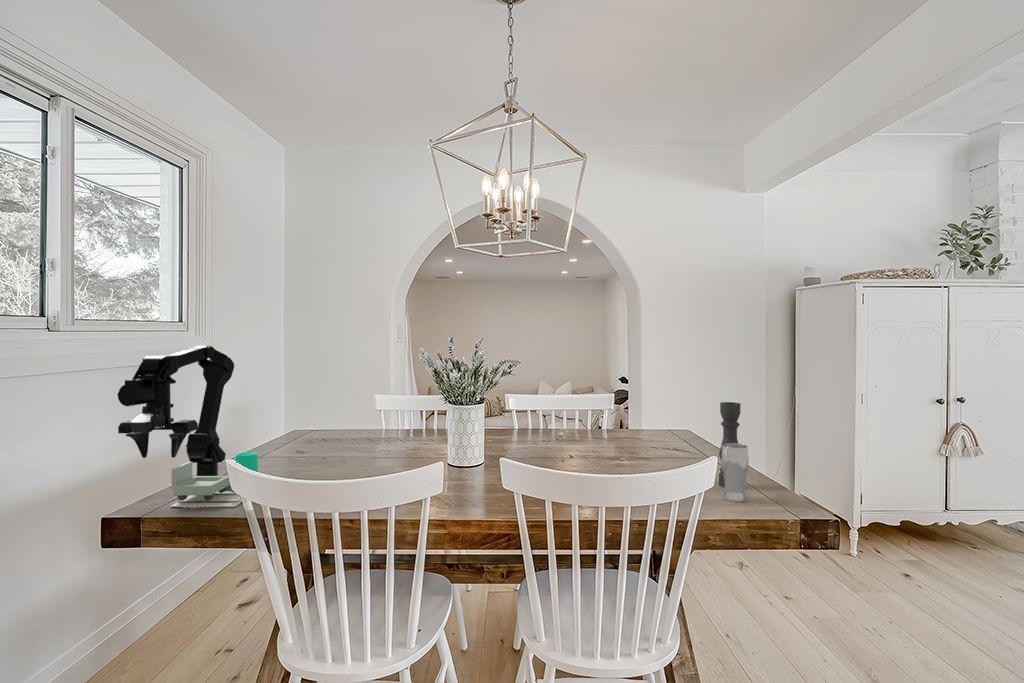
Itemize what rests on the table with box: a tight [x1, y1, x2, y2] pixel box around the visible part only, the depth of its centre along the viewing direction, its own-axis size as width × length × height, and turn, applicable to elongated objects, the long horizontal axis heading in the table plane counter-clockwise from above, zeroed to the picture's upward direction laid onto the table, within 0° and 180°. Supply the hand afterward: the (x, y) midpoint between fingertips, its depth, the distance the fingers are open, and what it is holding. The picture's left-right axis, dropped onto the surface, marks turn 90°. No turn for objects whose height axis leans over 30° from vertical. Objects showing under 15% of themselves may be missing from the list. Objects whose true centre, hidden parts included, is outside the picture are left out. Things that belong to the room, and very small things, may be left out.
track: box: [169, 490, 242, 509], centre depth 151 cm, size 13×17×1 cm
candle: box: [235, 448, 259, 473], centre depth 162 cm, size 6×6×12 cm
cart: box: [170, 461, 231, 501], centre depth 151 cm, size 10×11×9 cm
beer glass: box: [721, 443, 749, 503], centre depth 152 cm, size 7×7×15 cm
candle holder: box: [718, 401, 741, 489], centre depth 165 cm, size 6×6×25 cm
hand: (159, 457), depth 151 cm, fingers open, 8 cm apart
